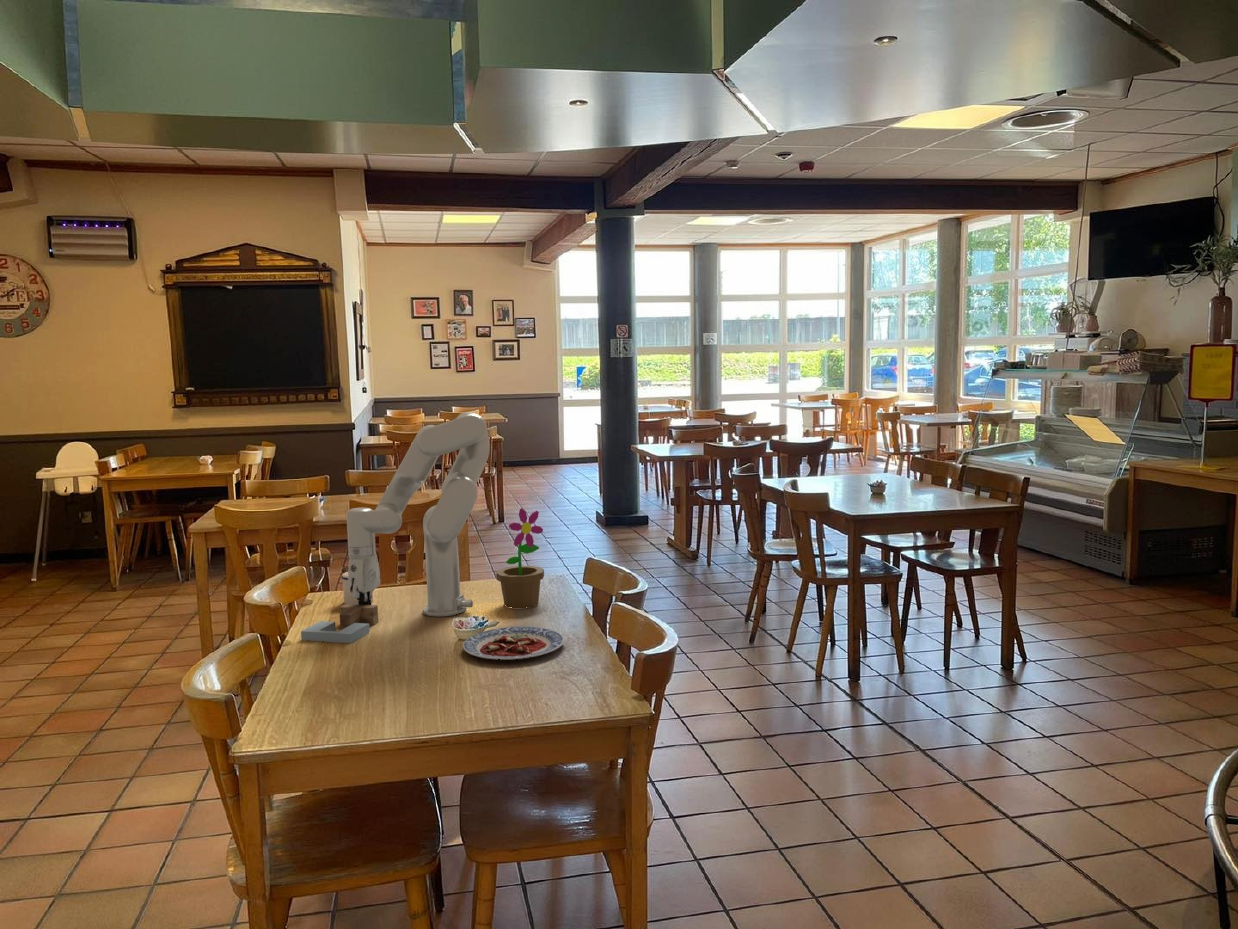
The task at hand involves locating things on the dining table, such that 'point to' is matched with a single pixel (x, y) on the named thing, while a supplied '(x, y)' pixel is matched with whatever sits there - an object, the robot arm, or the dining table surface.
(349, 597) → the teacup with lid
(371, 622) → the t block
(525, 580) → the flowerpot
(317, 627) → the dock
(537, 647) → the ceramic plate
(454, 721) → the dining table surface
